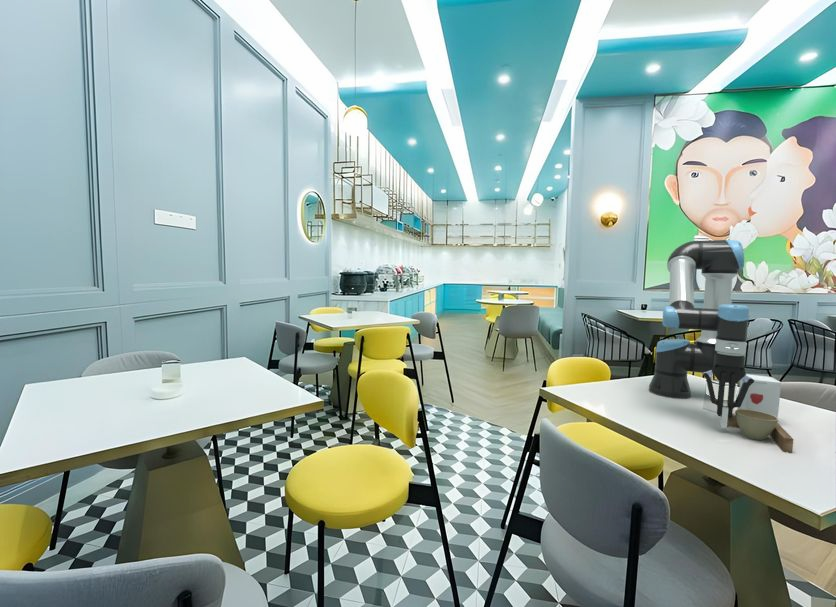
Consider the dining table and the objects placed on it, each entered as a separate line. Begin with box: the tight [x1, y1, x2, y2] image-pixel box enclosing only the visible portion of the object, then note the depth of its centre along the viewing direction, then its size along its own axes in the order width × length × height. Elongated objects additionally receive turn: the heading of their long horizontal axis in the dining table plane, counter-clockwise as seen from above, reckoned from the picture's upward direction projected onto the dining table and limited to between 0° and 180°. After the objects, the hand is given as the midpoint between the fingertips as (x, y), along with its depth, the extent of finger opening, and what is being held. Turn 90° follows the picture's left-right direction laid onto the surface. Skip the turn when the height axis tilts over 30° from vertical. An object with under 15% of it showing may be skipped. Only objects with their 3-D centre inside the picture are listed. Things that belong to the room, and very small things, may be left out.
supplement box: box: [736, 373, 782, 419], centre depth 137 cm, size 9×9×15 cm
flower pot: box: [734, 408, 779, 441], centre depth 120 cm, size 10×10×7 cm
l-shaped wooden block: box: [727, 412, 794, 454], centre depth 120 cm, size 12×18×4 cm, turn 149°
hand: (723, 426), depth 124 cm, fingers closed
